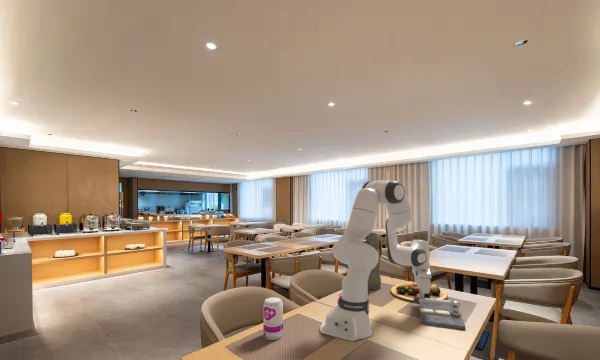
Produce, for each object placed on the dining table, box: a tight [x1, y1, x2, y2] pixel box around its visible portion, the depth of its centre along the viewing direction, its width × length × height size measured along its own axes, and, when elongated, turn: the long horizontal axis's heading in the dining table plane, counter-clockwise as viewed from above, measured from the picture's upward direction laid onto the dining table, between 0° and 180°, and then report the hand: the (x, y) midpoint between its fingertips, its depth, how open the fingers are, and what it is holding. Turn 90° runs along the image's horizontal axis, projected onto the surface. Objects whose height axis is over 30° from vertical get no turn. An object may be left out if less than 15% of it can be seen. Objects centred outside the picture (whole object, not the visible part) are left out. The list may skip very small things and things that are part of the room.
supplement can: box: [262, 296, 284, 341], centre depth 125 cm, size 8×8×15 cm
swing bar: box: [414, 296, 461, 308], centre depth 146 cm, size 21×4×2 cm, turn 69°
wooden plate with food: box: [390, 281, 449, 305], centre depth 176 cm, size 32×32×8 cm
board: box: [419, 302, 466, 331], centre depth 144 cm, size 18×26×5 cm
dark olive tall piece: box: [363, 232, 383, 291], centre depth 190 cm, size 9×12×35 cm
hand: (421, 296), depth 154 cm, fingers closed
